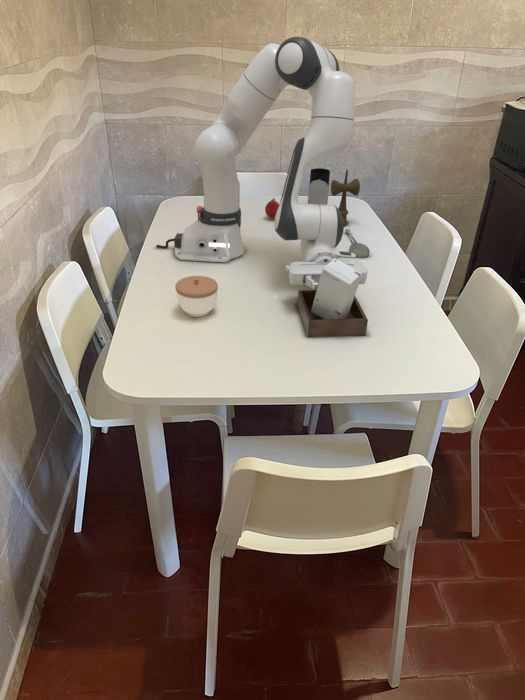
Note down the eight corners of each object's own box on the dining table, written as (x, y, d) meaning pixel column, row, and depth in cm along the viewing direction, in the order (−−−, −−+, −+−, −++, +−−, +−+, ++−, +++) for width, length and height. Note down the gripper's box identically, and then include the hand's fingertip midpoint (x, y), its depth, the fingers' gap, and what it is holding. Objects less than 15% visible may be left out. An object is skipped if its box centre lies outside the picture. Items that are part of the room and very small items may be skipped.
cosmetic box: (310, 312, 136) (319, 267, 125) (323, 300, 139) (333, 256, 128) (337, 328, 133) (349, 284, 122) (350, 316, 136) (363, 271, 125)
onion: (278, 222, 197) (279, 201, 192) (263, 221, 198) (264, 199, 193) (281, 217, 202) (282, 196, 197) (266, 216, 203) (267, 195, 198)
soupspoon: (350, 259, 172) (370, 260, 172) (352, 250, 170) (372, 251, 170) (338, 232, 189) (356, 233, 190) (339, 223, 188) (357, 224, 188)
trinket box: (185, 325, 133) (183, 291, 128) (171, 306, 141) (169, 274, 135) (224, 316, 137) (224, 283, 132) (208, 298, 145) (207, 267, 140)
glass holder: (305, 211, 208) (307, 172, 200) (308, 200, 220) (311, 163, 212) (327, 213, 207) (331, 174, 199) (329, 202, 219) (333, 165, 211)
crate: (307, 337, 130) (308, 321, 127) (296, 304, 143) (298, 290, 141) (365, 335, 131) (368, 319, 129) (349, 303, 145) (351, 289, 142)
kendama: (355, 226, 196) (363, 171, 185) (330, 227, 194) (336, 172, 183) (350, 221, 201) (357, 167, 190) (326, 222, 199) (331, 167, 188)
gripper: (284, 253, 140) (292, 275, 128) (360, 253, 142) (374, 274, 130) (283, 275, 143) (290, 299, 132) (357, 274, 145) (370, 297, 134)
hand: (332, 287), depth 131 cm, fingers closed on cosmetic box, 7 cm apart
